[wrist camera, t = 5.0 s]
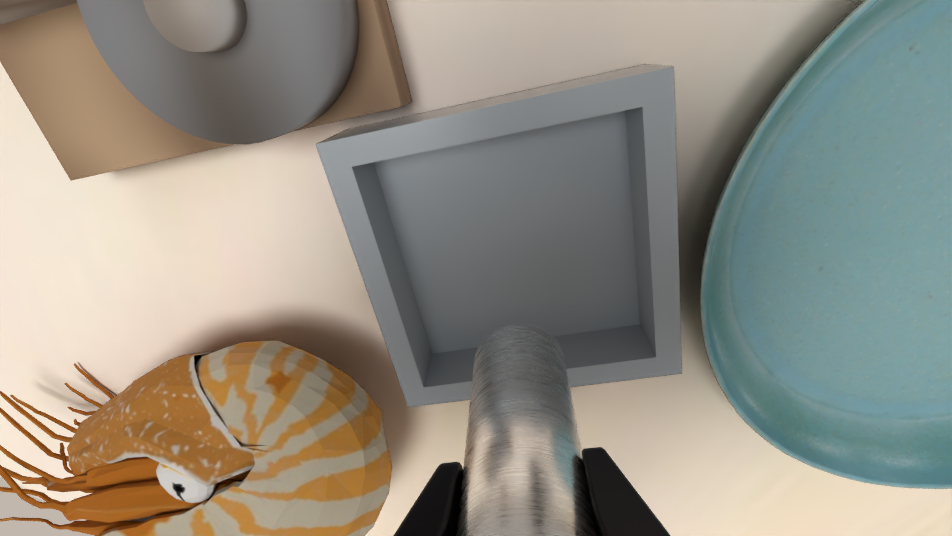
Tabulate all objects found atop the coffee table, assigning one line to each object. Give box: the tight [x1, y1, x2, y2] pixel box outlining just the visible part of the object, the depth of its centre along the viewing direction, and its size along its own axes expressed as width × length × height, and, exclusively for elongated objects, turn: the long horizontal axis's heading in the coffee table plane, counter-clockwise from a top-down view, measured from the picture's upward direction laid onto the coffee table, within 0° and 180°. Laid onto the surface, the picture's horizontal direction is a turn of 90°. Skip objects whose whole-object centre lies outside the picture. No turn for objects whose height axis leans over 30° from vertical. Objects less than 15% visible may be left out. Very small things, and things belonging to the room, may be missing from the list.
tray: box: [316, 64, 682, 407], centre depth 19 cm, size 12×12×3 cm
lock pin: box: [456, 325, 597, 536], centre depth 8 cm, size 3×3×9 cm
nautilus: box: [0, 340, 392, 536], centre depth 22 cm, size 8×22×15 cm
